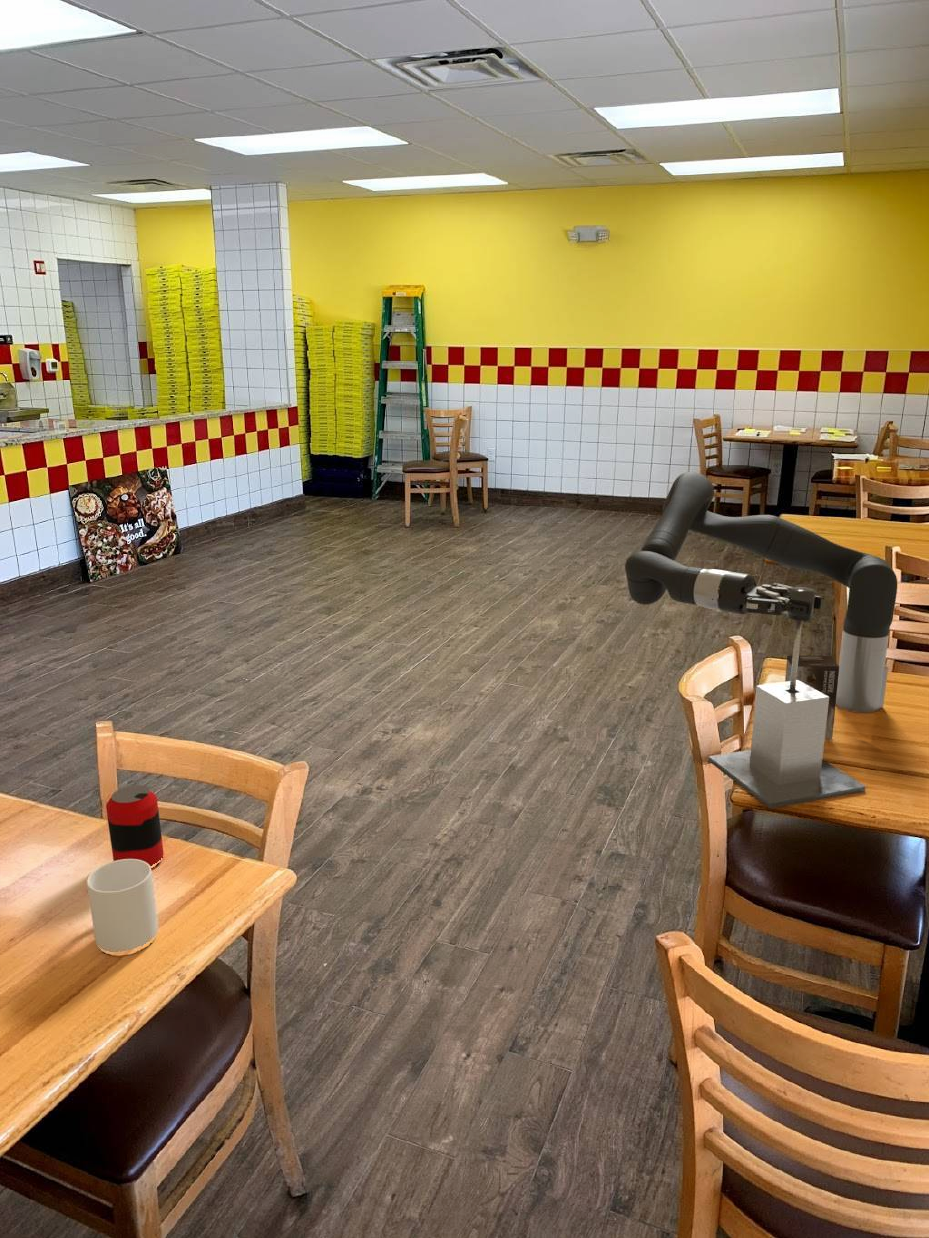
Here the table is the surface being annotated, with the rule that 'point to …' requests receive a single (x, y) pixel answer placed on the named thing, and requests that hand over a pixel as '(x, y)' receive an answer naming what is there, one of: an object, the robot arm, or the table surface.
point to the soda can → (135, 825)
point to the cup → (122, 904)
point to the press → (787, 750)
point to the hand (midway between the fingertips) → (816, 606)
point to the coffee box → (818, 681)
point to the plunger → (798, 626)
